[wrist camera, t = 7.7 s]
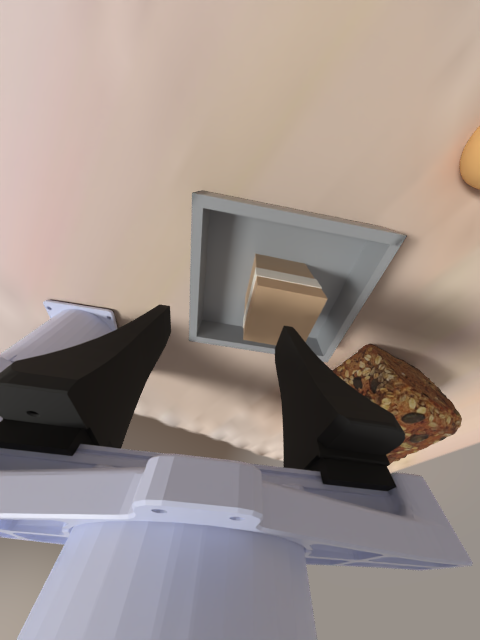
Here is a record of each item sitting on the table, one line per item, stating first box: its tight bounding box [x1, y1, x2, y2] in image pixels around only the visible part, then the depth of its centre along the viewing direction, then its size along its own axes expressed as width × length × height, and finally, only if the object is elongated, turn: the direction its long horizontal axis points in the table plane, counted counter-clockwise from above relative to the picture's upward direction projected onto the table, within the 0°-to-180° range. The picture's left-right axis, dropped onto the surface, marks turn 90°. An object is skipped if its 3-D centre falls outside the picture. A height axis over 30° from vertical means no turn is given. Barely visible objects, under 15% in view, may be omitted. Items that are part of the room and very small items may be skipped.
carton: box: [243, 253, 327, 345], centre depth 18 cm, size 5×5×7 cm
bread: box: [333, 344, 462, 464], centre depth 27 cm, size 19×11×10 cm, turn 151°
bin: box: [189, 190, 406, 362], centre depth 20 cm, size 14×16×4 cm
